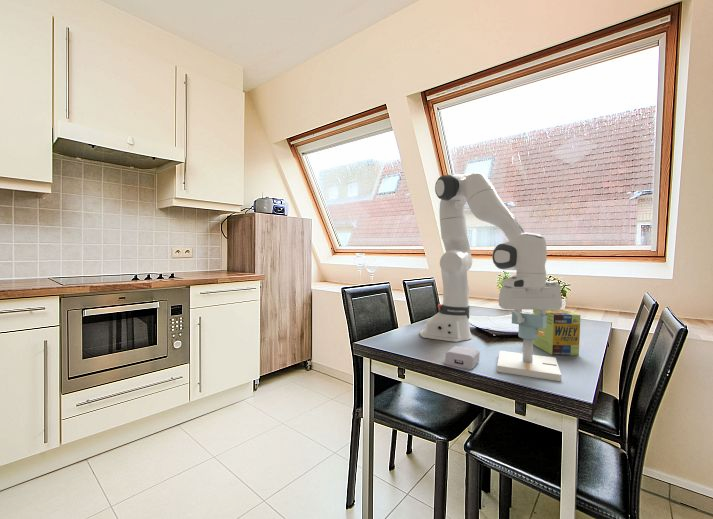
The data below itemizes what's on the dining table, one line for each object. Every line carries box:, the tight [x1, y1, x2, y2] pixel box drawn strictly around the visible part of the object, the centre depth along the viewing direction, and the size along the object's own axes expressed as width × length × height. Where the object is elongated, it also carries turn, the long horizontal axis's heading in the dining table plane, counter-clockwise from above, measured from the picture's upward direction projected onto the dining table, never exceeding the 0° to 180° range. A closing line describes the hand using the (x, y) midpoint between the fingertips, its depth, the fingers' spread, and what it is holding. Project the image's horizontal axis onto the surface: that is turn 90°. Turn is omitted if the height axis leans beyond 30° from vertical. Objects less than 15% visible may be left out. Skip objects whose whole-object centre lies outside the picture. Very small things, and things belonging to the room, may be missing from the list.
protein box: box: [532, 308, 581, 356], centre depth 137 cm, size 10×15×16 cm
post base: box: [496, 338, 562, 382], centre depth 116 cm, size 18×18×10 cm
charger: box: [444, 345, 481, 370], centre depth 122 cm, size 5×9×15 cm
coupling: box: [511, 310, 547, 339], centre depth 116 cm, size 10×6×8 cm, turn 41°
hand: (529, 322), depth 115 cm, fingers closed on coupling, 5 cm apart
